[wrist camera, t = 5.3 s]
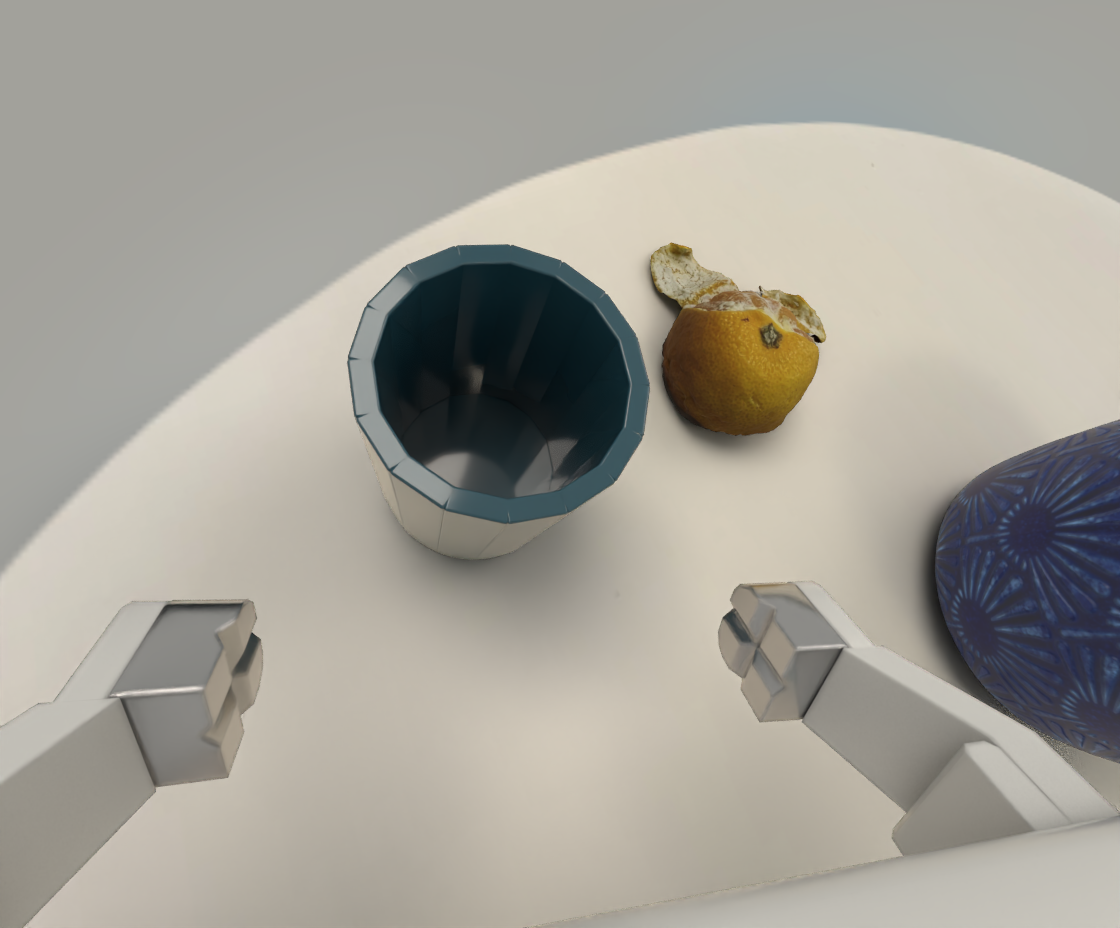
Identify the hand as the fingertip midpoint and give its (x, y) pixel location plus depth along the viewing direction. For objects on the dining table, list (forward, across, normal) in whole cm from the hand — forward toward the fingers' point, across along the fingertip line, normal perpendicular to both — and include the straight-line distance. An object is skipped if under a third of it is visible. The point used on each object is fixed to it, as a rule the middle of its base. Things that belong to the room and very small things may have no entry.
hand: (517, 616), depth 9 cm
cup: (+10, 0, +3) cm, 10 cm away
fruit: (+14, -11, -2) cm, 18 cm away
